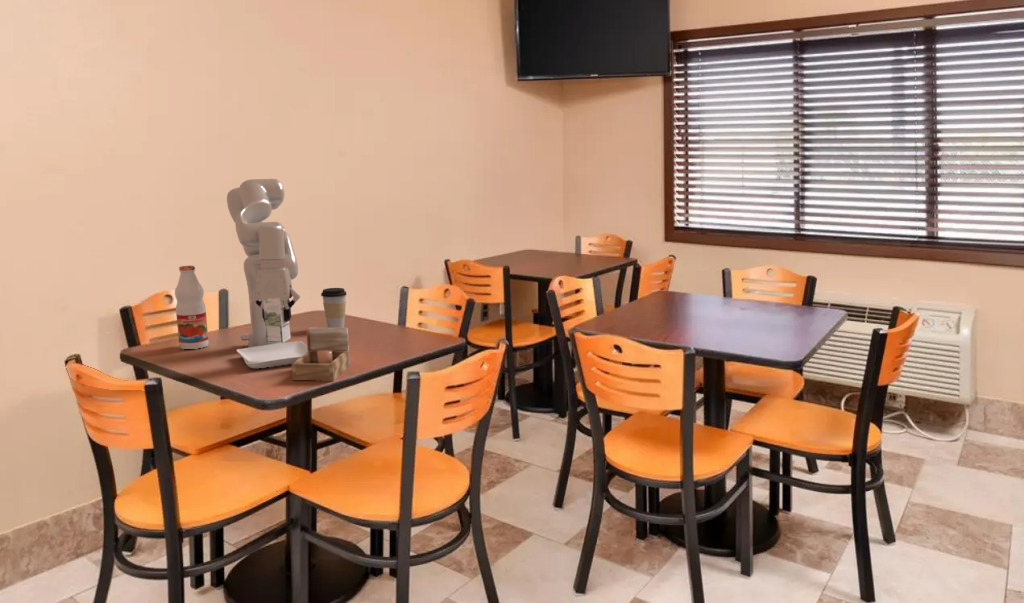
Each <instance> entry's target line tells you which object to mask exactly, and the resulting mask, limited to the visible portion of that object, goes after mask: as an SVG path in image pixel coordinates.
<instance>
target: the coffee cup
mask: <svg viewBox="0 0 1024 603" xmlns="http://www.w3.org/2000/svg"><path fill="white" fill-rule="evenodd" d="M320 296H321V297H322V300H323V302H322V303H323V309H324V316H325V320H326V325H327V326H326V327H327V328H345V316H346V303H347V302H346V296H347V291H346V290H345V288H342V287H329V288H324V289H323V290H322V292H321V293H320Z"/></svg>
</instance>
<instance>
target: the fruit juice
mask: <svg viewBox="0 0 1024 603" xmlns="http://www.w3.org/2000/svg"><path fill="white" fill-rule="evenodd" d="M178 270H179V273H180V275H179V278H178V282H177V285H176V286H175V289H174V296H175V299H176V305H175V315H176V325H177V326H176V327H177V335H178V347H179V348H180V350H184V349H195V350H199V349H198V348H201V349H204V348H203V347H205V348H207V347H208V346H209V341H210V340H209V333H208V320H207V310H206V304H205V302H204V294H205V293H204V292H205V291H204V288H203V286H202V285H201V283H200V282H199V280H198V278H197V275H196V273H195V271H196V266H195V265H181V266H179V268H178ZM206 346H207V347H206Z"/></svg>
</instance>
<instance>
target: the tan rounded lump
mask: <svg viewBox="0 0 1024 603" xmlns="http://www.w3.org/2000/svg"><path fill="white" fill-rule="evenodd" d="M317 356H318V364H330V363H331V362H333V356H332V350H331V349H322V350H318V351H317Z"/></svg>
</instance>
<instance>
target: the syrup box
mask: <svg viewBox="0 0 1024 603" xmlns="http://www.w3.org/2000/svg"><path fill="white" fill-rule="evenodd" d="M263 304H264V316H265V328H266V340H267V342H285V341H286V342H287V341H289V340H290V339H291V338H292V337H291V329H290V320H289V321H288V322H285V320H284V309H285V306H284V304H283V301H281V300H280V298H273V299H271V298H268V300H266V301H263Z"/></svg>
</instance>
